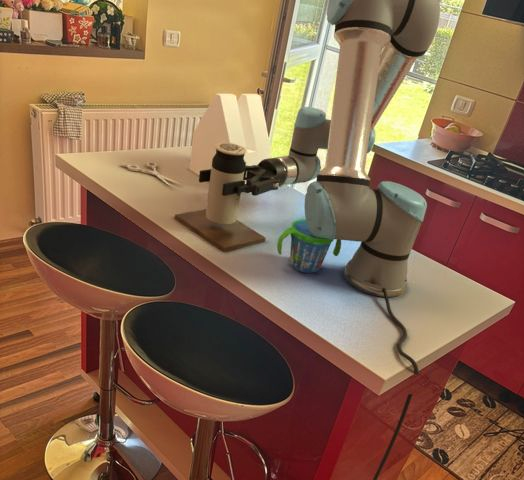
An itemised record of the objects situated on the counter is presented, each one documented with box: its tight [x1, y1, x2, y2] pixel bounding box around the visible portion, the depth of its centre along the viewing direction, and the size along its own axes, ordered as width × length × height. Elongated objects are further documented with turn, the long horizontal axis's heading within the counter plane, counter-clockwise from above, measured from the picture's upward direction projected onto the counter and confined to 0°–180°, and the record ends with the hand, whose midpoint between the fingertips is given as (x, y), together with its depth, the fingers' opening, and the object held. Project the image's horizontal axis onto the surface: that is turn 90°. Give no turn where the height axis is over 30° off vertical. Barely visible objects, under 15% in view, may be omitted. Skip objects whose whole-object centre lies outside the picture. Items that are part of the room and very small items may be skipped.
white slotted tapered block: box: [189, 93, 272, 184], centre depth 166 cm, size 19×15×25 cm
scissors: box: [120, 161, 180, 187], centre depth 163 cm, size 11×1×20 cm
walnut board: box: [174, 208, 266, 253], centre depth 141 cm, size 20×14×1 cm
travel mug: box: [205, 143, 246, 225], centre depth 134 cm, size 8×8×18 cm
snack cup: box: [276, 218, 342, 274], centre depth 130 cm, size 16×10×10 cm
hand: (211, 183), depth 130 cm, fingers closed on travel mug, 8 cm apart
